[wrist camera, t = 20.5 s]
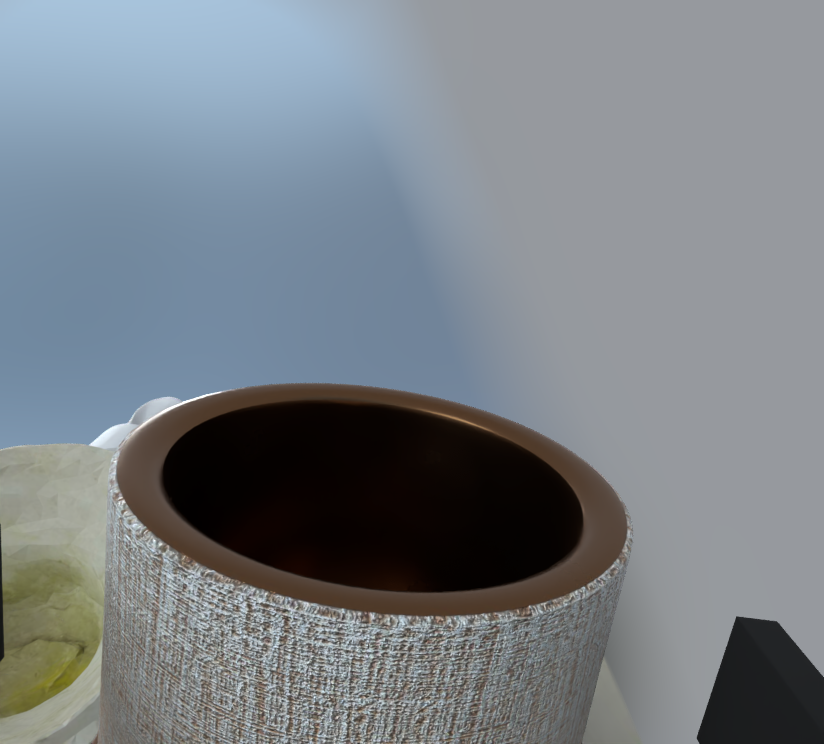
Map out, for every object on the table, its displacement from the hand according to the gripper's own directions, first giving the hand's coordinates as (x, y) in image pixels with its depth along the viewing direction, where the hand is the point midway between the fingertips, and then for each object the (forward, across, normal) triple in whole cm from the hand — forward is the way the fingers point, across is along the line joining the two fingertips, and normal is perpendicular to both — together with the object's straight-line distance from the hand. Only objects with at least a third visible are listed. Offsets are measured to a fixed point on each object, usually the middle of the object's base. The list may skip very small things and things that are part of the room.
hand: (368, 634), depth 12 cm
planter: (+3, 0, -8) cm, 8 cm away
